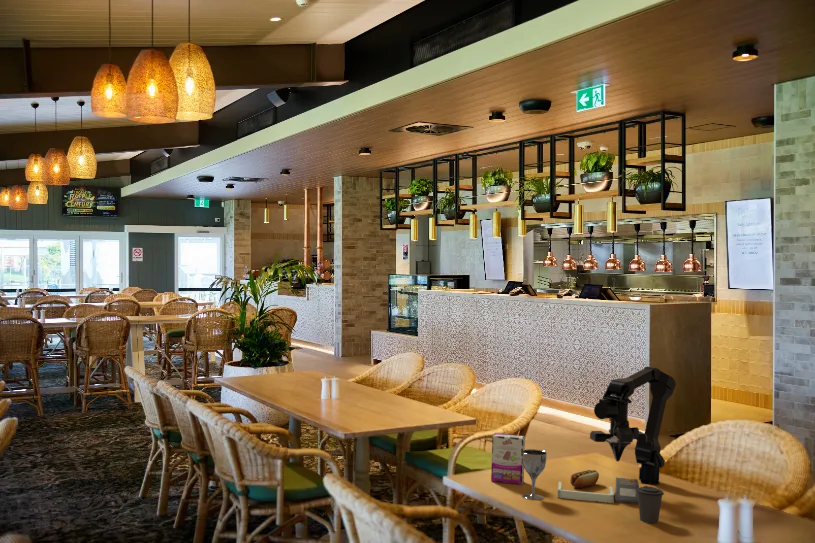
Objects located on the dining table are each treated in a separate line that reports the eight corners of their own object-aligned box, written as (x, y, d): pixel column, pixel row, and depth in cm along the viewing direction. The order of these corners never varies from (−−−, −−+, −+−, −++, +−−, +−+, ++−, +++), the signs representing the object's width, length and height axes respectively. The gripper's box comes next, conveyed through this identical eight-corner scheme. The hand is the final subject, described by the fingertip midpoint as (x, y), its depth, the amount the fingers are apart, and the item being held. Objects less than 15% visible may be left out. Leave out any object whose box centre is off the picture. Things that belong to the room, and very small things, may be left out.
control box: (637, 496, 263) (638, 478, 263) (639, 504, 255) (640, 485, 255) (614, 494, 265) (614, 476, 265) (615, 501, 257) (616, 482, 257)
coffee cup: (641, 514, 244) (642, 482, 244) (667, 520, 239) (668, 488, 239) (630, 520, 238) (632, 487, 238) (656, 526, 233) (658, 493, 233)
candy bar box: (524, 481, 278) (525, 435, 277) (521, 485, 273) (523, 438, 273) (493, 478, 281) (494, 432, 281) (490, 481, 276) (492, 435, 276)
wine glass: (544, 494, 263) (545, 450, 262) (546, 501, 255) (547, 455, 255) (520, 492, 263) (522, 448, 263) (521, 499, 255) (523, 454, 255)
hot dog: (602, 484, 277) (602, 470, 277) (579, 490, 268) (580, 476, 268) (590, 481, 281) (590, 467, 281) (567, 487, 272) (568, 473, 272)
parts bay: (612, 493, 266) (612, 486, 266) (613, 503, 255) (613, 495, 255) (558, 488, 270) (558, 481, 270) (557, 497, 259) (557, 490, 259)
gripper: (601, 420, 263) (600, 467, 263) (654, 421, 265) (652, 467, 265) (590, 414, 274) (588, 458, 274) (641, 415, 276) (639, 459, 276)
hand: (617, 461), depth 272 cm, fingers closed
